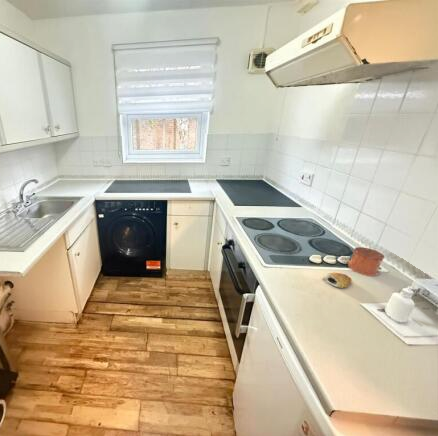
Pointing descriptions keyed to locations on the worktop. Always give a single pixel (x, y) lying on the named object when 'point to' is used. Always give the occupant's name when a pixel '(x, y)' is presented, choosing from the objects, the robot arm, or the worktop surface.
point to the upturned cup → (366, 261)
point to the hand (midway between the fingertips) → (423, 301)
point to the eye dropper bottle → (400, 305)
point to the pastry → (338, 280)
